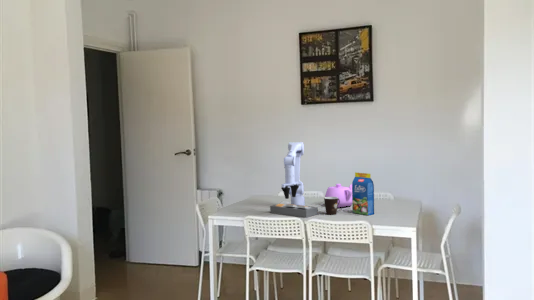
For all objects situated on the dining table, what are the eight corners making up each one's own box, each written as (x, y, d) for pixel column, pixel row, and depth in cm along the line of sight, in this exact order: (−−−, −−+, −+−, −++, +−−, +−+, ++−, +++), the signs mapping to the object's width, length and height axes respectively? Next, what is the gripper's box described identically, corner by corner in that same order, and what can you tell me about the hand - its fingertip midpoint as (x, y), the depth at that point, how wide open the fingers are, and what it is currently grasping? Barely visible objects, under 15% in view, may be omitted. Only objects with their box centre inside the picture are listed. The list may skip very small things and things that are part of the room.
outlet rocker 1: (283, 202, 307) (282, 200, 307) (290, 203, 303) (289, 201, 303) (274, 208, 300) (274, 206, 300) (281, 208, 297) (281, 206, 297)
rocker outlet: (305, 208, 295) (305, 206, 296) (313, 209, 292) (313, 207, 292) (297, 207, 289) (297, 205, 289) (304, 208, 285) (305, 206, 285)
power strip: (282, 209, 310) (281, 203, 310) (317, 214, 292) (317, 207, 292) (270, 212, 301) (270, 205, 300) (306, 217, 283) (306, 210, 282)
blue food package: (367, 215, 284) (367, 174, 283) (352, 213, 293) (351, 172, 292) (374, 214, 288) (373, 173, 286) (358, 211, 297) (358, 171, 296)
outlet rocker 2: (294, 207, 301) (294, 205, 301) (301, 208, 298) (301, 206, 298) (285, 206, 294) (285, 203, 295) (292, 206, 291) (293, 204, 291)
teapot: (342, 210, 303) (341, 186, 303) (320, 205, 321) (320, 183, 320) (367, 206, 316) (367, 183, 315) (345, 202, 333) (345, 180, 333)
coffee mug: (327, 215, 287) (327, 199, 286) (322, 213, 295) (321, 197, 295) (345, 214, 290) (345, 198, 290) (339, 211, 298) (338, 196, 298)
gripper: (287, 177, 285) (288, 200, 285) (302, 175, 296) (302, 196, 296) (278, 176, 289) (279, 199, 290) (293, 174, 300) (293, 195, 301)
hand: (290, 197), depth 293 cm, fingers open, 6 cm apart
